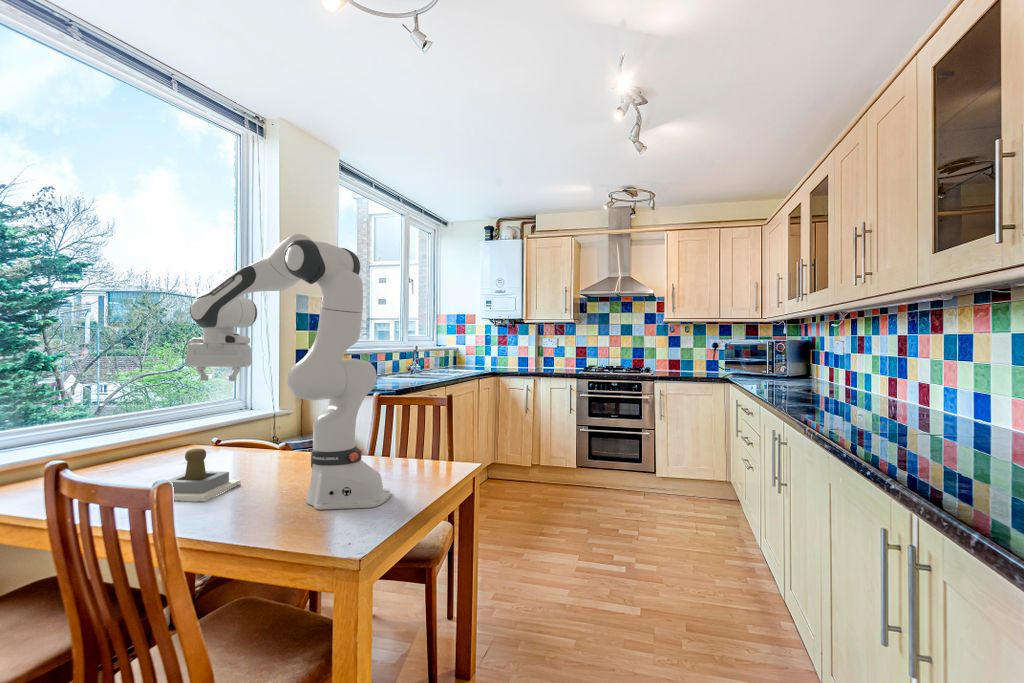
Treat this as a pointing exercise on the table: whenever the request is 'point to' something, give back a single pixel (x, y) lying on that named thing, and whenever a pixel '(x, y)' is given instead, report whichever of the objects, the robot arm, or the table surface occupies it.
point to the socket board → (207, 494)
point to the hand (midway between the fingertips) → (218, 381)
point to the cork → (195, 464)
